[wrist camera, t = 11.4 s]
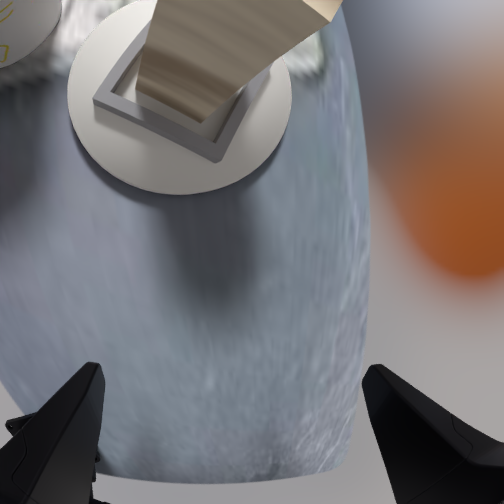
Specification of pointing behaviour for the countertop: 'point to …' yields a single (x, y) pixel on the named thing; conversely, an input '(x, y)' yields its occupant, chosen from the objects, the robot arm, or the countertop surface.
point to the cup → (25, 26)
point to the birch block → (220, 47)
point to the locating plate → (168, 116)
